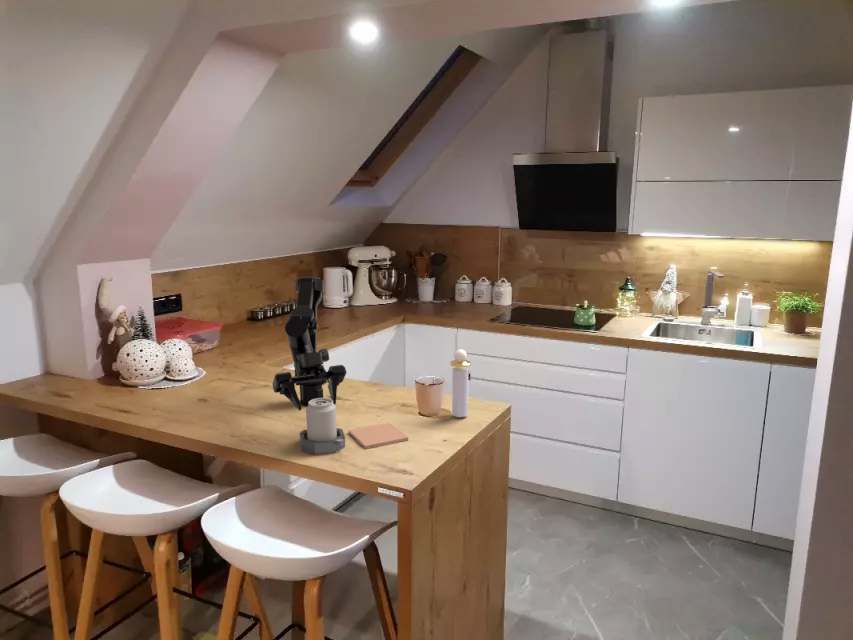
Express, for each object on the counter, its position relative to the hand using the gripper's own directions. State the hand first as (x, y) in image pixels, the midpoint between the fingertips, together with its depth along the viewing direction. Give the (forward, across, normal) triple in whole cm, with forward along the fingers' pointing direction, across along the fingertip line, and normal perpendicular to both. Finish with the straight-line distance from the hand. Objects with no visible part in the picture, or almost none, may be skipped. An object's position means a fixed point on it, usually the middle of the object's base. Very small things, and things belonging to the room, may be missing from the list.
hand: (317, 406), depth 165 cm
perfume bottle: (+8, +42, +6) cm, 43 cm away
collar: (+8, 0, +5) cm, 10 cm away
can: (+9, 0, +5) cm, 10 cm away
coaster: (+9, +15, +4) cm, 18 cm away
